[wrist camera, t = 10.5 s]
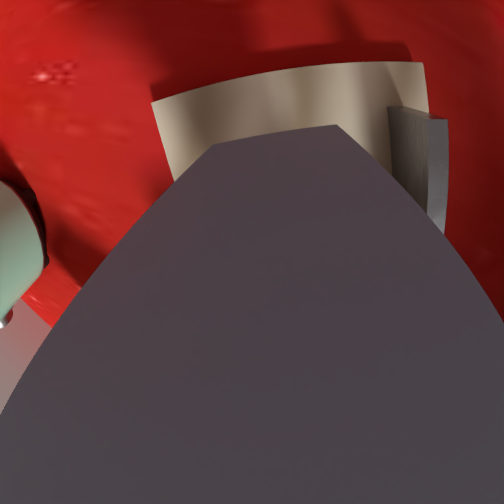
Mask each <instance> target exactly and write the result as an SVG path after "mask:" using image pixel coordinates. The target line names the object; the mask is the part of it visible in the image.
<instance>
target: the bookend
mask: <svg viewBox="0 0 504 504" xmlns="http://www.w3.org/2000/svg"><path fill="white" fill-rule="evenodd" d="M387 114H388V123H389V134H390V146H391V162H392V177H393V178H394V179H395V180H396V181H397V182H398V183H399V184H400V185H401V186H402V187H403V188H404V189H405V190H406V191H407V192H408V194H409V195H410V196H411V197H412V198H413V199H414V200H415V201H416V202H417V204H418V205H419V206H420V207H421V208H422V209H423V210H424V212H425V213H426V214H427V215H428V216H429V217H430V219H431V220H432V221H433V222H434V223H435V225H436V226H437V227H438V228H439V229H440V231H441V232H442V233H443V234H444V229H445V220H446V209H447V195H448V173H449V138H448V119H445V118H442V117H439V116H436V115H433V114H430V113H427V112H423V111H420V110H416V109H413V108H409V107H406V106H387Z"/></svg>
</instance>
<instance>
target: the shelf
mask: <svg viewBox="0 0 504 504" xmlns="http://www.w3.org/2000/svg"><path fill="white" fill-rule="evenodd" d="M151 104H152V108H153V111H154V115H155V119H156V122H157V126H158V129H159V133H160V136H161V139H162V143H163V146H164V150H165V153H166V156H167V160H168V163H169V166H170V169H171V173H172V176H173V179H174V182H175V181H176V180H177V179H178V178H179V177H180V176H181V175H182V174H183V173H184V172H185V171H186V170H187V169H188V168H189V167H190V166H191V165H192V164H193V163H194V162H195V161H196V160H197V159H198V158H199V157H200V156H201V155H202V154H203V153H204V152H205V151H207V150H208V149H209V148H210V147H211V146H212V145H213V144H218V143H222V142H227V141H232V140H237V139H242V138H247V137H252V136H258V135H263V134H269V133H275V132H281V131H288V130H295V129H302V128H309V127H317V126H326V125H335V124H337V125H338V126H339V127H340V128H342V129H343V130H344V131H345V132H346V133H347V134H348V135H350V136H351V137H352V138H353V139H354V140H355V141H356V142H357V143H358V144H359V145H361V146H362V147H363V148H364V149H365V150H366V151H367V152H368V153H369V154H370V155H371V156H372V157H373V158H374V159H375V160H376V161H377V162H378V163H379V164H380V165H381V166H382V167H384V168H385V169H386V171H387V172H388V173H389V174H390V175H391V176H392V162H391V146H390V134H389V123H388V114H387V106H406V107H409V108H413V109H416V110H420V111H423V112H427V113H429V108H428V98H427V89H426V81H425V74H424V67H423V63H421V62H352V63H337V64H325V65H315V66H306V67H298V68H291V69H284V70H278V71H272V72H266V73H261V74H256V75H251V76H246V77H241V78H236V79H232V80H228V81H224V82H219V83H215V84H212V85H208V86H204V87H200V88H197V89H193V90H190V91H186V92H183V93H180V94H177V95H173V96H170V97H167V98H164V99H161V100H158V101H155V102H153V103H151Z"/></svg>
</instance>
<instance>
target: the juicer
mask: <svg viewBox="0 0 504 504" xmlns="http://www.w3.org/2000/svg"><path fill="white" fill-rule="evenodd" d="M35 203H36V196H35V194H34V192H33V191H32V190H31V189H26V190H24V191H23V192H21V190H20V189H19V188H18V187H16V186H15V185H13V184H12V183H11V182H9V181H8V180H6V179H3V178H0V328H3V327H4V326H6V325H7V324H8V323H9V322H10V320H11V319H12V316H13V311H12V308H13V306H14V305H15V303H16V302H17V301H18V300H19V298H20V297H21V296H22V295H23V294H24V293H25V292H26V290H27V289H28V288H29V287H30V286H31V285H32V284H33V283H34V282H35V280H36V279H37V278H38V277H39V276H40V275H41V273H42V271H43V269H44V268H45V267H46V266H47V265H48V264H49V258H48V256H47V249H46V242H45V236H44V232H43V229H42V226H41V223H40V220H39V218H38V216H37V214H36V212H35V210H34V208H33V206H34V205H35Z"/></svg>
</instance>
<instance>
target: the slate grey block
mask: <svg viewBox="0 0 504 504" xmlns="http://www.w3.org/2000/svg"><path fill="white" fill-rule="evenodd" d="M0 504H504V322H503V321H502V319H501V317H500V316H499V314H498V312H497V310H496V309H495V307H494V306H493V304H492V302H491V301H490V299H489V297H488V296H487V294H486V293H485V291H484V290H483V288H482V287H481V285H480V284H479V282H478V281H477V279H476V278H475V276H474V275H473V273H472V272H471V270H470V269H469V268H468V266H467V265H466V263H465V262H464V261H463V259H462V258H461V257H460V255H459V254H458V253H457V251H456V250H455V249H454V247H453V246H452V245H451V243H450V242H449V241H448V239H447V238H446V237H445V236H444V234H443V233H442V232H441V231H440V229H439V228H438V227H437V226H436V225H435V223H434V222H433V221H432V220H431V219H430V217H429V216H428V215H427V214H426V213H425V212H424V210H423V209H422V208H421V207H420V206H419V205H418V204H417V202H416V201H415V200H414V199H413V198H412V197H411V196H410V195H409V194H408V192H407V191H406V190H405V189H404V188H403V187H402V186H401V185H400V184H399V183H398V182H397V181H396V180H395V179H394V178H393V177H392V176H391V175H390V174H389V173H388V172H387V171H386V169H385V168H384V167H382V166H381V165H380V164H379V163H378V162H377V161H376V160H375V159H374V158H373V157H372V156H371V155H370V154H369V153H368V152H367V151H366V150H365V149H364V148H363V147H362V146H361V145H359V144H358V143H357V142H356V141H355V140H354V139H353V138H352V137H351V136H350V135H348V134H347V133H346V132H345V131H344V130H343V129H342V128H340V127H339V126H338V125H337V124H335V125H326V126H317V127H309V128H302V129H295V130H288V131H281V132H275V133H269V134H263V135H258V136H252V137H247V138H242V139H237V140H232V141H227V142H222V143H218V144H213V145H212V146H211V147H210V148H209V149H208V150H207V151H205V152H204V153H203V154H202V155H201V156H200V157H199V158H198V159H197V160H196V161H195V162H194V163H193V164H192V165H191V166H190V167H189V168H188V169H187V170H186V171H185V172H184V173H183V174H182V175H181V176H180V177H179V178H178V179H177V180H176V181H175V182H174V183H173V184H172V185H171V186H170V187H169V188H168V189H167V190H166V191H165V192H164V193H163V194H162V195H161V196H160V197H159V198H158V199H157V200H156V201H155V202H154V203H153V205H152V206H151V207H150V208H149V209H148V210H147V211H146V212H145V213H144V214H143V215H142V216H141V218H140V219H139V220H138V221H137V222H136V223H135V224H134V225H133V226H132V228H131V229H130V230H129V231H128V232H127V233H126V234H125V236H124V237H123V238H122V239H121V240H120V241H119V243H118V244H117V245H116V246H115V247H114V248H113V250H112V251H111V252H110V253H109V254H108V256H107V257H106V258H105V259H104V260H103V262H102V263H101V264H100V265H99V267H98V268H97V269H96V270H95V272H94V273H93V274H92V275H91V277H90V278H89V279H88V280H87V282H86V283H85V284H84V286H83V287H82V288H81V290H80V291H79V292H78V294H77V295H76V296H75V298H74V299H73V300H72V302H71V303H70V304H69V306H68V307H67V308H66V310H65V311H64V313H63V314H62V315H61V317H60V318H59V320H58V321H57V322H56V324H55V325H54V327H53V328H52V330H51V331H50V333H49V334H48V336H47V337H46V339H45V340H44V342H43V343H42V345H41V346H40V348H39V349H38V351H37V352H36V354H35V355H34V357H33V359H32V360H31V362H30V363H29V365H28V367H27V369H26V370H25V372H24V373H23V375H22V377H21V379H20V380H19V382H18V383H17V385H16V387H15V389H14V390H13V392H12V394H11V396H10V398H9V400H8V402H7V403H6V405H5V407H4V409H3V411H2V413H1V415H0Z"/></svg>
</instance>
